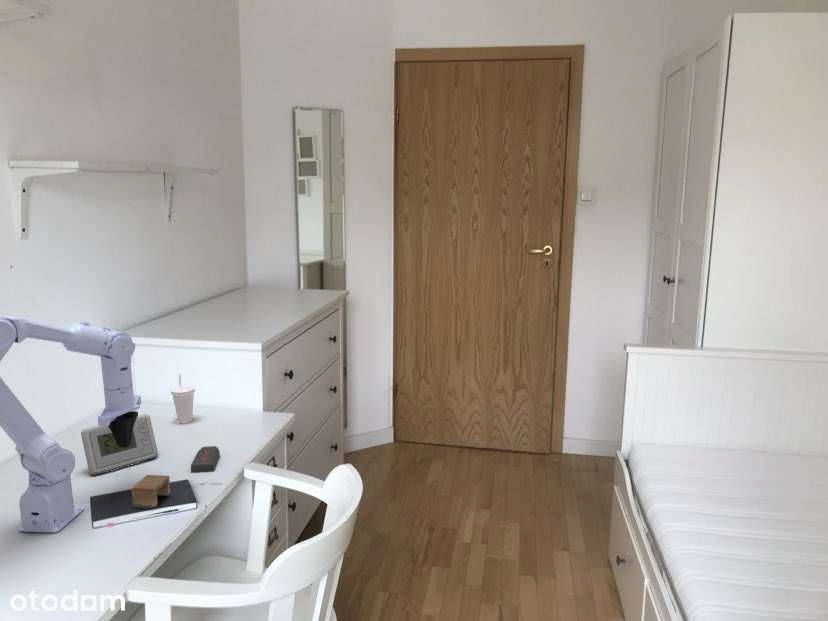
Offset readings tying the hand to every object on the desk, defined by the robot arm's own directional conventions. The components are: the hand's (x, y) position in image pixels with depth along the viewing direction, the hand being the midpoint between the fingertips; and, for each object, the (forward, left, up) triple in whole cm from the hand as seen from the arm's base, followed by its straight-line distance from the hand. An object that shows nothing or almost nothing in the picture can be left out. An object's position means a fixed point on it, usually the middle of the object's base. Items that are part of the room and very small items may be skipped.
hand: (124, 446), depth 143 cm
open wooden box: (-9, -8, -8) cm, 14 cm away
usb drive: (+15, -12, -11) cm, 22 cm away
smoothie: (+42, +5, -10) cm, 43 cm away
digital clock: (+13, +8, -10) cm, 18 cm away
